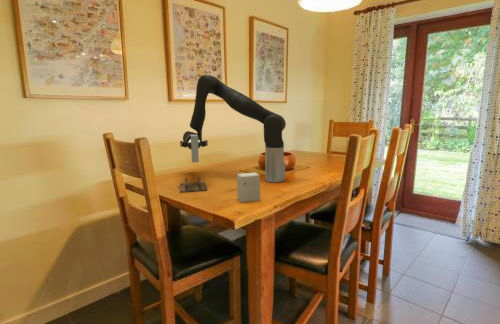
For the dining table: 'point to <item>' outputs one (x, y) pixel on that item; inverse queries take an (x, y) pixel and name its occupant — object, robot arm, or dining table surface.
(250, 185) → the small box
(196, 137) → the grey rectangular block
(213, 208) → the dining table surface
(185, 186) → the rack
